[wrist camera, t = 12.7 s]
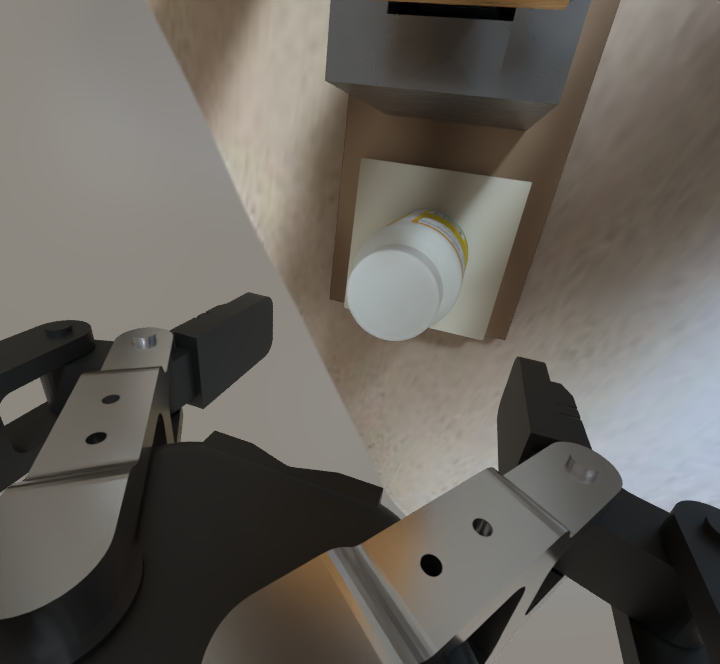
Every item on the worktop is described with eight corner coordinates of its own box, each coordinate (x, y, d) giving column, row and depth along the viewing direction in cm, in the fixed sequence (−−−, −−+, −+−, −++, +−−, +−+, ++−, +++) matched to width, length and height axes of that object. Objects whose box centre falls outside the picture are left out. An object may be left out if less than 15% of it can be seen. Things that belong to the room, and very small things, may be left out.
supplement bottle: (468, 204, 22) (458, 226, 13) (469, 291, 24) (460, 358, 15) (380, 212, 24) (322, 237, 15) (387, 293, 26) (340, 354, 17)
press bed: (644, -91, 17) (668, -129, 15) (504, 331, 27) (506, 346, 25) (376, -91, 20) (363, -123, 18) (336, 293, 29) (324, 303, 27)
